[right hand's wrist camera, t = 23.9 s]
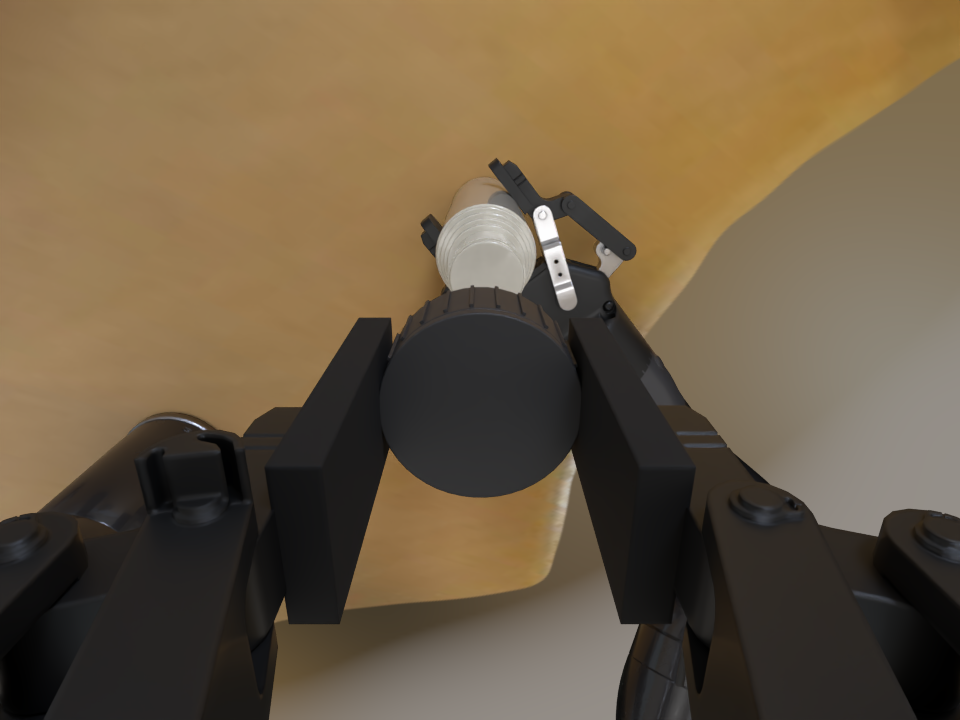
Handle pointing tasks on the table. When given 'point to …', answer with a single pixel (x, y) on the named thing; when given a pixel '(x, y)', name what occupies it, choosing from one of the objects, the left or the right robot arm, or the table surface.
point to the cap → (480, 393)
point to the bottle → (485, 240)
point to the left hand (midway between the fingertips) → (459, 191)
